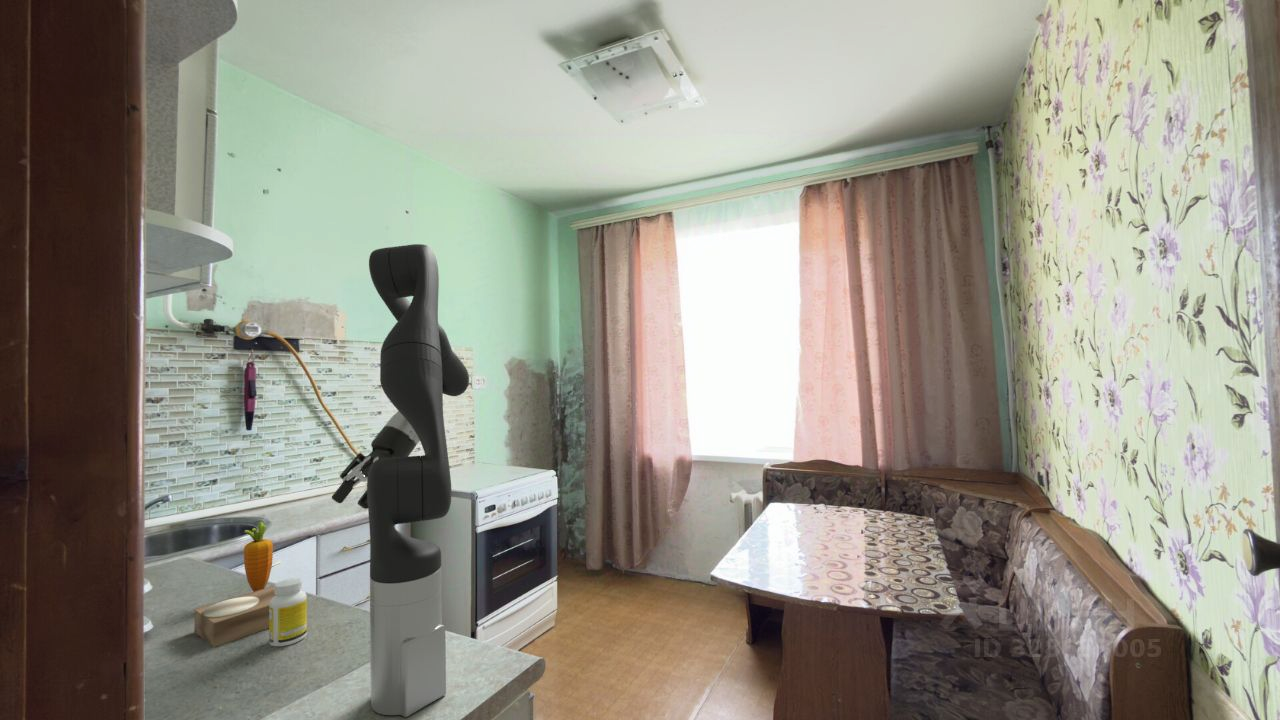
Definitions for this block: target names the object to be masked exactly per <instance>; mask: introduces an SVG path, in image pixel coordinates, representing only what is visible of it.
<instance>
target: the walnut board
mask: <svg viewBox="0 0 1280 720" xmlns="http://www.w3.org/2000/svg"><path fill="white" fill-rule="evenodd" d="M274 596H276V594H274V585H271V586H269V587H265V588H264V589H261V590H258V591H255V592H253V591H252V592H248V593H246V594H243V595H242V594H241V595H237V596H235V597H232V598H229V599H226V600H225V599H224V600H221V601H218V602H214V603H212V604H209V605H206V606H202V607H198V608H195V609H194V620H193V621H194V626H193V627H194V633H195V634H196V635H197V636H199V637H200V638H202V639H203V640H204V641H206V642H207V643H208V644H209V645H211V646H212V647H213V648H217V647H219V646H222V645H225V644H228V643H230V642H233V641H235V640H239V639H242V638H245V637H247V636H251V635H252V634H255V633H258V632H261V631H265V630H267V629H269V603H270V600H271V599H272V598H273V597H274Z"/></svg>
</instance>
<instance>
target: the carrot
mask: <svg viewBox="0 0 1280 720" xmlns="http://www.w3.org/2000/svg"><path fill="white" fill-rule="evenodd" d="M267 528H268V527H267V526H266V525H265V524H264V522H262V521H259V522H258V523H257V528H255V527H253V528H252V529H251V530H248V529H245V530H244V532H243V533H245V534H247V535H248V536H250V537H251V538H252V541H250V542H248V543H247V544H245V545H244V547H243V560H244V561H243V562H244V563H243V564H244V565H243V566H244V571H245V576H246V580H247V582H248V585H249V587H250V589H251V590H252V592H255V591H258V590H261V589H265V588H266V586H267V584H268V581H269V579H270V575H271V571H272V566H273V559H274V558H273V554H274V544H273V541H271V540H269V539H265V538H264V534H265V532H266V530H267ZM257 529H258V530H257Z"/></svg>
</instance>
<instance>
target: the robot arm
mask: <svg viewBox="0 0 1280 720" xmlns="http://www.w3.org/2000/svg"><path fill="white" fill-rule="evenodd" d="M368 267H369V268H368V269H369V274H370V279H371V282H372V283H373V286H374V288H375V289H376V292H377V293H378V295H379V297H380V298H381V300H382V302H383V303H384V304H385V306H386V307H387V308H388V310H389V311H390V313H391V314H392V316H393V317H394V319H395V320H396V321H397V322H396V323H395V324H394V326H393V327H392V328H391V329H390V331H389V332H388V334H387V335H386V337H385V338H384V340H383V342H382V345H381V348H380V359H379V360H380V363H379V365H380V369H379V371H380V372H379V377H380V378H379V381H380V386H381V389H382V391H383V393H384V394H385V396H386V398H387V399H388V400H389V401H390V403H391V404H392V405H393V406H394V407H395V408H396V410H397V411H396V412H395V414H393V416H391V417H390V419H389V420H388V421H387V422H386V424H385V425H384V426H383V427H382V428H381V430H380V431H379V432H378V434H377V435H376V436H375V438H374V439H373V440H372V441H371V443H370V446H371V449H372V451H370V453H369V454H367V456H366V455H364V454H363V453H362V452H359V453H357V455H356V456H355V457H354V458H353V459H352V460H351V462H350V463H348V465H347V466H346V467H345V469H344V470H343V471H342V472H341V473H340V475H339V478H341V480H342V483H341V484H340V485H339V487H338V488H337V489H336V491H335V492H334V493H333V494H332V495H331V499H332V500H333V501H334V502H335V503H337V504H342V503H343V502H344V501H345V500H346V499H347V497H348V496H349V494H350V493H351V492H352V490H353V489H354V488H355V486H357V485H358V484H360V483H363V482H364V483H365V482H366V483H367V484H366V490H365V492H364V493H363V494H362V495H361V496H360V498H359V500H358V501H357V505H358V506H359V507H360V508H362V509H365V510H367V509H368V522H369V524H368V525H369V546H370V547H369V551H370V553H369V631H370V632H369V635H370V636H369V637H370V638H369V642H370V643H369V645H370V647H369V649H370V657H369V658H370V668H369V669H370V706H371V710H373V712H375V713H377V714H379V715H383V716H385V715H386V716H402V717H404V718H407V717H409V716H411V715H412V714H414V713H416V712H418V711H420V710H421V709H422V708H425V707H426V706H428V705H430V704H431V703H433V702H435V701H436V700H438V699H440V698H442V697H444V696H445V695H446V694H447V661H446V660H447V652H446V651H447V648H446V647H447V645H446V626H445V625H444V624H443V610H442V609H443V608H442V606H443V604H442V601H443V600H442V598H443V597H442V595H443V594H442V590H443V589H442V586H443V585H442V583H443V582H442V550H441V548H440V546H439V545H437V544H436V543H435V542H432V541H429V540H424V539H420V538H419V539H418V538H414V537H412V536H409V535H406V534H404V533H402V532H400V531H399V530H397V529H396V527H395V526H396V525H400V524H402V525H403V524H409V523H417V522H424V521H430V520H439V519H442V518H443V517H445V516H446V515H447V514H448V512H450V508H451V503H452V479H451V478H452V477H451V469H450V462H449V460H450V459H449V454H448V453H449V451H448V445H447V436H446V430H445V429H446V427H445V419H444V400H443V399H444V398H443V395H446V396H450V397H458V396H461V395H462V394H464V393H465V392H466V391H467V389H468V387H469V383H470V376H469V372H468V369H467V367H466V366H465V364H464V363H463V362H462V360H461V359H460V357H458V355H457V354H456V353H455V351H453V349H452V346H451V343H450V341H449V338H448V335H447V333H446V330H445V329H444V328H443V326H442V325H441V324H440V323H439V288H440V287H439V286H440V284H439V280H440V277H439V276H440V274H439V266H438V260H437V257H436V255H435V253H434V251H433V249H432V248H431V247H429V246H428V245H426V244H421V243H420V244H419V243H416V244H415V243H414V244H405V245H399V246H398V245H397V246H388V247H382V248H378V249H377V248H376V249H374V250H373V251H372V252H371V253H370V255H369V258H368ZM407 297H408V298H409V297H412V299H411V301H410V300H408V298H407ZM419 443H420V444H421V446H422V449H423V453H424V454H423V455H411V453H412V452H413V451H414V450H415V448H416V446H417V445H418V444H419ZM410 455H411V456H410Z"/></svg>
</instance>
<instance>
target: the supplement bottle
mask: <svg viewBox="0 0 1280 720" xmlns="http://www.w3.org/2000/svg"><path fill="white" fill-rule="evenodd" d="M273 586H274V594H276V596H274V597H273V598H272V599H271V600H270V603H269V628H268V630H269V631H268V639H269V640H268V642H269V645H270V646H272V647H284V646H290V645H293V644H295V643H297V642H299V641H301V640H302V639H304V638H305V637H306V636H307V632H308V629H307V628H308V623H307V622H308V618H307V617H308V615H307V614H308V608H307V607H308V606H307V605H308V603H307V601H308V597H307V596H308V595H307V593H306V591H304V590H302V588H303V579H302V578H299V577H294V578H287V579H283V580H280V581H277V582H276V583H275V584H274V585H273Z"/></svg>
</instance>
